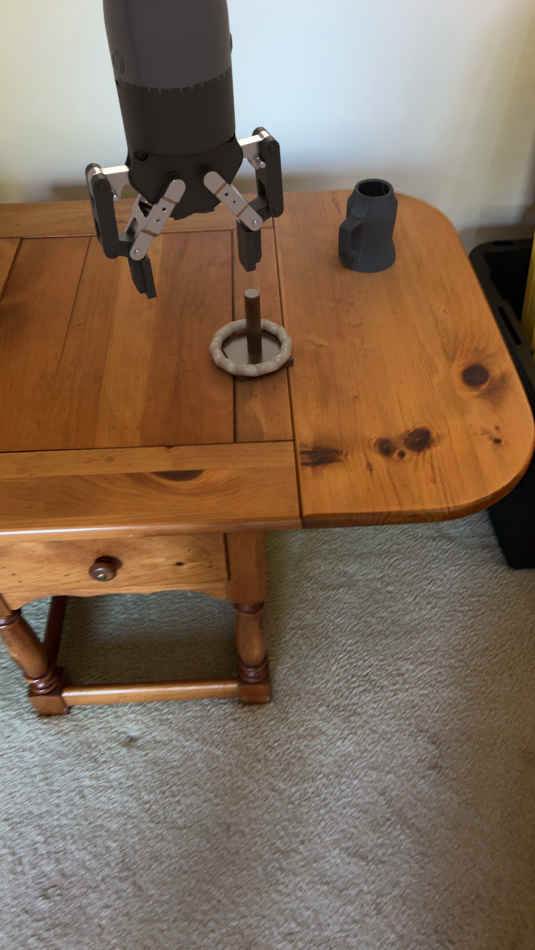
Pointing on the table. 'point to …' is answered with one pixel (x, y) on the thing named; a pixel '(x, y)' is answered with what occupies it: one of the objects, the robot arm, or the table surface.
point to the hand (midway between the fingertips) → (199, 279)
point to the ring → (248, 368)
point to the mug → (369, 227)
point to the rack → (252, 339)
